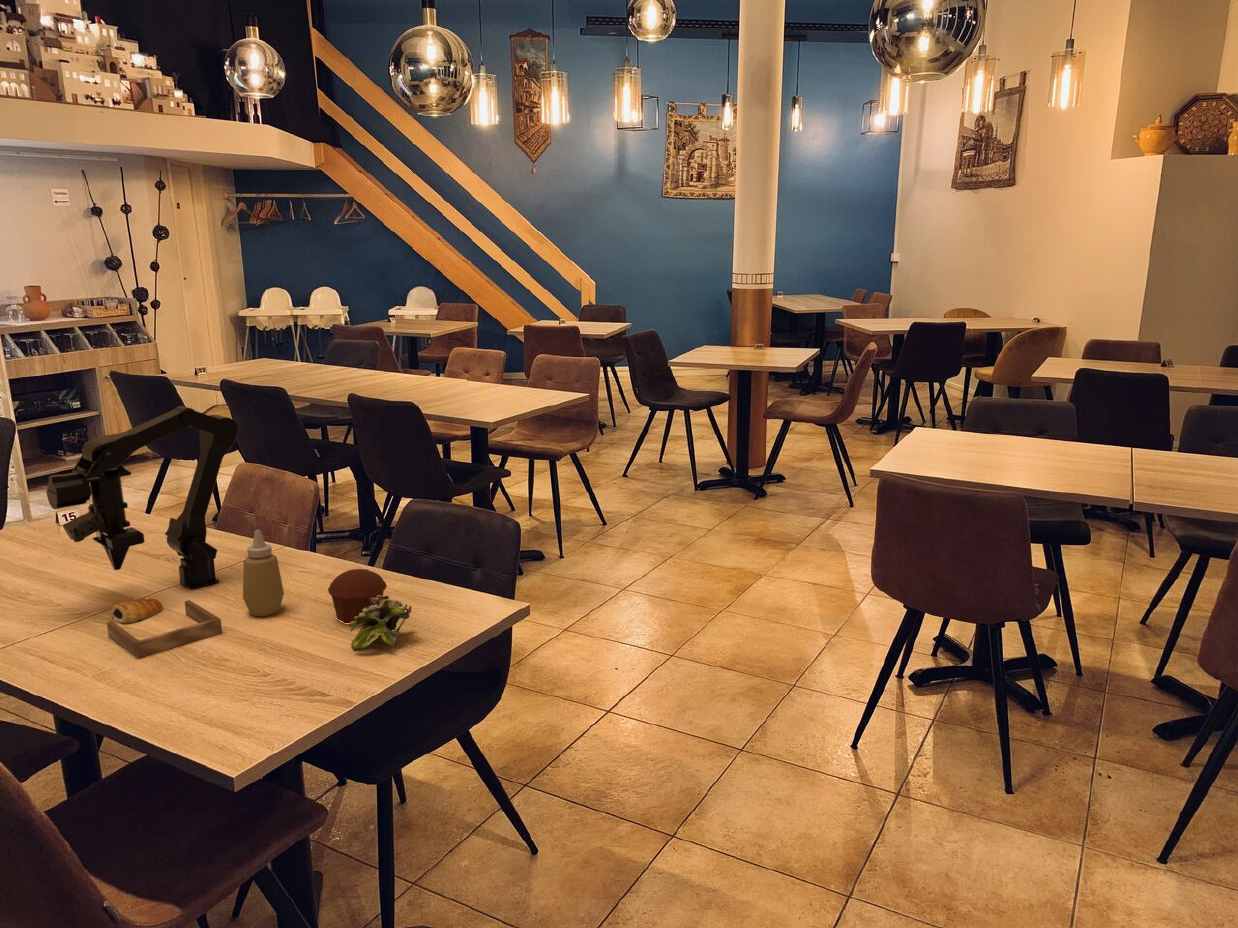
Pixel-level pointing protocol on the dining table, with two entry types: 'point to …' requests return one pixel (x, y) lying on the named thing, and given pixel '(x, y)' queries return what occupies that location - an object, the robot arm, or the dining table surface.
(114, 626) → the box
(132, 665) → the dining table surface
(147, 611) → the pastry
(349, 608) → the muffin
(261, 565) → the squeeze bottle
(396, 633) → the green leafy plant
